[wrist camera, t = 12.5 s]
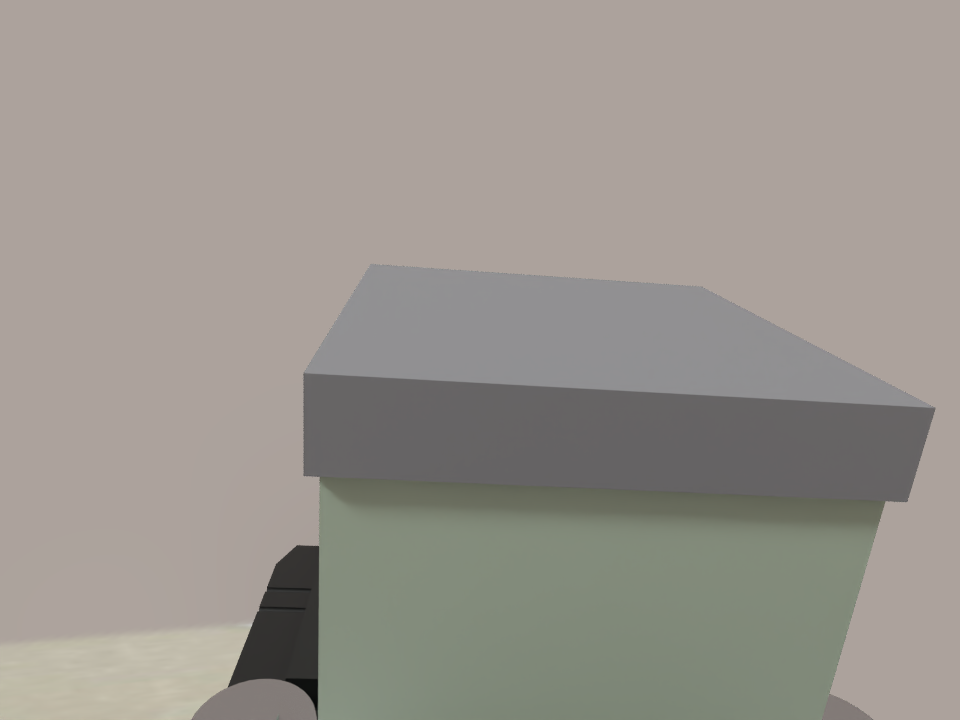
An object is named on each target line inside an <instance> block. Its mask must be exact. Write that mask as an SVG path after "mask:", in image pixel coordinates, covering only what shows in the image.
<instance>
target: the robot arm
mask: <svg viewBox="0 0 960 720" xmlns="http://www.w3.org/2000/svg"><path fill="white" fill-rule="evenodd" d="M318 645H319V546H300V545H299V546H298V545H297V546H296V547H295V548H294V549H293V550H292V551H290V552H289V553H288V554H287V555H286V556H285V557H284V558H283V559H281V560H280V561H279V562H278V563H277V564H276V566H275V569H274V571H273V574H272V576H271V579H270V581H269V584H268V586H267V592H265V594H264V596H263V599H262V602H261V604H260V608H259V612H257V614H256V617H255V619H254V622H253V624H252V627H251V630H250V632H249V635H248V637H247V640H246V642H245V645H244V647H243V650H242V652H241V655H240V658H239V660H238V663H237V665H236V668H235V670H234V673H233V675H232V678H231V680H230V683H229V686H228V688H226V689H224V690H222V691H220V692H219V693H217V694H216V695H214V696H213V697H211V698H210V699H209V700H208V701H207V702H205V703H204V704H203V705H202V706H201V707H200V708H199V710H198V711H197V712H196V713H195V715H194V716H193V718H192V720H318ZM822 720H873V719H872V718H871V717H870V716H868V715H867V714H866V713H864V712H863V711H861V710H860V709H859V708H857V707H855V706H853V705H852V704H850V703H848V702H847V701H844V700H842V699H840V698H838V697H836V696H833V695H831V694H829V696H828V700H827V703H826V707H825V710H824V713H823V717H822Z"/></svg>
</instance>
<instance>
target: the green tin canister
mask: <svg viewBox="0 0 960 720" xmlns="http://www.w3.org/2000/svg"><path fill="white" fill-rule="evenodd" d="M934 412H935V407H933V406H931V405H929V404H927V403H925V402H923V401H921V400H919V399H917V398H915V397H913V396H912V395H909V394H908V393H906V392H903V391H902V390H900V389H898V388H896V387H894V386H892V385H890V384H888V383H886V382H885V381H882V380H881V379H878V378H877V377H875V376H873V375H871V374H869V373H867V372H865V371H863V370H861V369H859V368H857V367H856V366H853V365H852V364H850V363H848V362H846V361H844V360H842V359H840V358H838V357H836V356H834V355H832V354H830V353H829V352H827V351H825V350H823V349H821V348H819V347H817V346H815V345H813V344H811V343H809V342H807V341H805V340H803V339H802V338H800V337H798V336H796V335H794V334H792V333H790V332H788V331H786V330H784V329H782V328H780V327H778V326H776V325H775V324H772V323H771V322H769V321H767V320H765V319H763V318H761V317H759V316H757V315H755V314H753V313H751V312H749V311H748V310H746V309H743V308H742V307H740V306H738V305H736V304H734V303H732V302H730V301H728V300H726V299H724V298H722V297H721V296H718V295H717V294H715V293H713V292H711V291H709V290H707V289H705V288H703V287H697V286H683V285H669V284H668V285H667V284H654V283H639V282H625V281H609V280H594V279H581V278H566V277H551V276H536V275H522V274H507V273H493V272H478V271H463V270H449V269H434V268H419V267H405V266H390V265H376V264H375V265H374V264H371V265H370V266H369V268H368V269H367V271H366V273H365V274H364V276H363V278H362V279H361V281H360V282H359V284H358V286H357V287H356V289H355V290H354V292H353V294H352V295H351V297H350V299H349V300H348V302H347V303H346V305H345V307H344V308H343V310H342V312H341V313H340V315H339V317H338V318H337V320H336V321H335V323H334V325H333V326H332V328H331V329H330V331H329V333H328V334H327V336H326V338H325V339H324V341H323V342H322V344H321V346H320V347H319V349H318V351H317V352H316V354H315V355H314V357H313V359H312V360H311V362H310V364H309V365H308V367H307V369H306V370H305V372H304V476H315V477H316V476H317V477H320V509H319V511H320V514H319V522H320V523H319V645H318V720H822V717H823V713H824V710H825V707H826V703H827V700H828V696H829V693H830V689H831V686H832V682H833V679H834V675H835V672H836V669H837V665H838V662H839V659H840V655H841V652H842V648H843V644H844V641H845V638H846V634H847V631H848V628H849V624H850V621H851V617H852V614H853V610H854V607H855V604H856V600H857V596H858V593H859V590H860V587H861V583H862V579H863V576H864V573H865V569H866V566H867V562H868V559H869V556H870V552H871V548H872V545H873V542H874V538H875V535H876V531H877V528H878V524H879V521H880V518H881V514H882V511H883V508H884V504H885V501H894V502H907V501H908V498H909V494H910V491H911V488H912V484H913V481H914V478H915V475H916V471H917V468H918V465H919V461H920V458H921V455H922V451H923V448H924V445H925V441H926V438H927V435H928V431H929V428H930V424H931V422H932V418H933V415H934Z"/></svg>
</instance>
